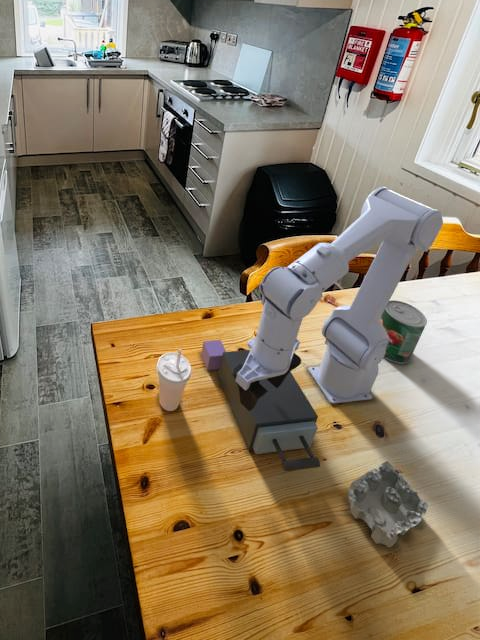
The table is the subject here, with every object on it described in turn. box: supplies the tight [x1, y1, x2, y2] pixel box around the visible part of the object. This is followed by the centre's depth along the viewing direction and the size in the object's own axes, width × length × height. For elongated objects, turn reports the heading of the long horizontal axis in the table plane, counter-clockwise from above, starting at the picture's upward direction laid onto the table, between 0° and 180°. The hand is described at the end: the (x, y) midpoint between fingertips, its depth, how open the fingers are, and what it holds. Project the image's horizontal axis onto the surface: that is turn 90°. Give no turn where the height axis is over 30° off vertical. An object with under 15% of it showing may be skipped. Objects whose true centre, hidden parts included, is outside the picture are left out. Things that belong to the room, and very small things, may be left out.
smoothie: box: [156, 348, 192, 412], centre depth 74 cm, size 6×6×14 cm
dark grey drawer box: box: [217, 349, 319, 451], centre depth 75 cm, size 15×12×7 cm
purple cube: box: [200, 339, 227, 371], centre depth 85 cm, size 4×4×4 cm
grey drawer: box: [253, 421, 321, 473], centre depth 72 cm, size 18×10×5 cm, turn 8°
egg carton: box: [347, 460, 429, 548], centre depth 61 cm, size 11×8×4 cm
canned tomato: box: [379, 299, 428, 365], centre depth 89 cm, size 8×8×11 cm
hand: (259, 394), depth 69 cm, fingers open, 7 cm apart
